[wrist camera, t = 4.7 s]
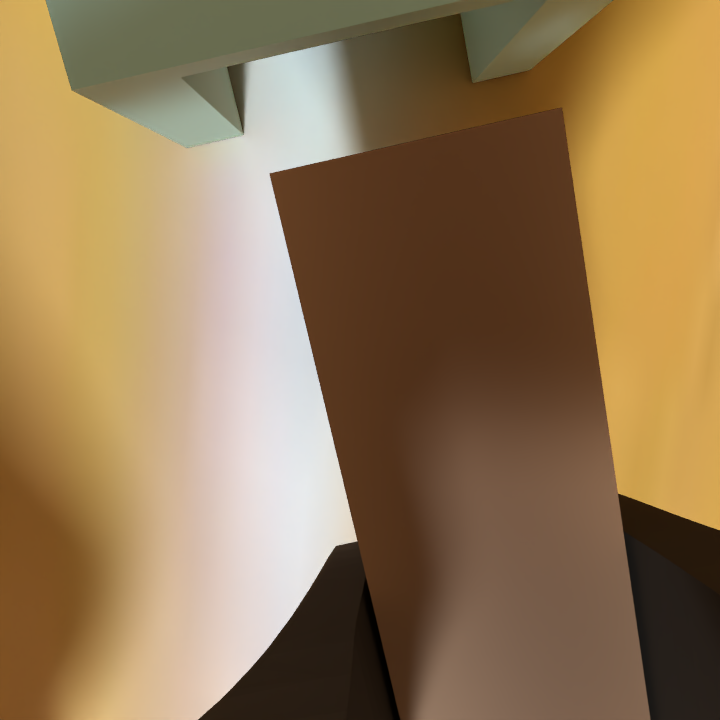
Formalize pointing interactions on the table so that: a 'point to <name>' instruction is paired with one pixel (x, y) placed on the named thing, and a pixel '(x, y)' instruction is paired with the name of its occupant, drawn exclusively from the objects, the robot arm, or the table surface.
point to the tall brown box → (471, 420)
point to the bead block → (267, 47)
